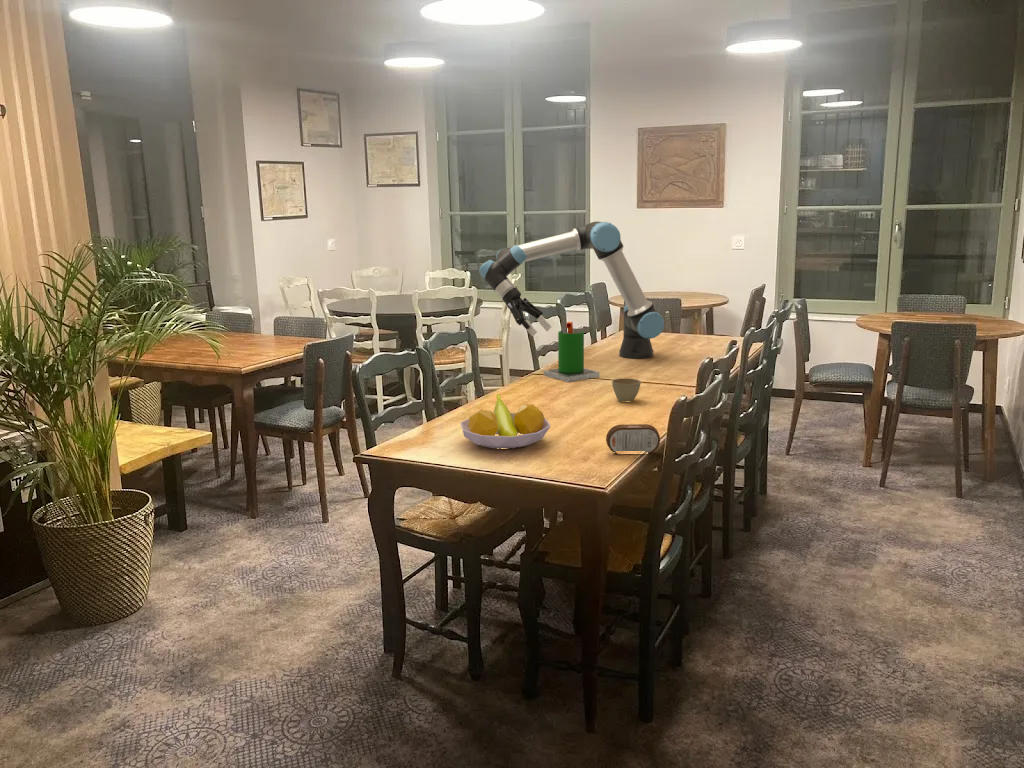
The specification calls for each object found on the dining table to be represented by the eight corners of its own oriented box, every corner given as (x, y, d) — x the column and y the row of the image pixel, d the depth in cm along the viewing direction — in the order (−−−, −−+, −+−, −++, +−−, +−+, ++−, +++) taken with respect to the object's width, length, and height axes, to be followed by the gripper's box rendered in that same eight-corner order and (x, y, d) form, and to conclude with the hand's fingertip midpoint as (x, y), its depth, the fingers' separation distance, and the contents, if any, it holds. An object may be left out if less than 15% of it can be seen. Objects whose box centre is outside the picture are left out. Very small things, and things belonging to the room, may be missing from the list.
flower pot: (629, 405, 288) (630, 385, 286) (606, 401, 295) (606, 381, 293) (646, 400, 295) (646, 380, 293) (622, 396, 302) (622, 376, 300)
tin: (658, 451, 237) (659, 422, 235) (660, 455, 234) (661, 425, 232) (605, 453, 237) (605, 424, 235) (607, 456, 234) (607, 427, 232)
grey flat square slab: (575, 370, 346) (575, 365, 346) (599, 376, 333) (599, 371, 333) (543, 375, 338) (543, 370, 337) (567, 382, 325) (567, 376, 324)
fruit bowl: (544, 458, 233) (544, 418, 230) (450, 454, 238) (448, 416, 235) (557, 430, 260) (556, 395, 257) (471, 427, 264) (470, 392, 262)
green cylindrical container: (584, 368, 339) (584, 319, 334) (583, 373, 330) (583, 323, 326) (558, 368, 340) (558, 319, 335) (557, 373, 331) (557, 323, 327)
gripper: (516, 295, 353) (549, 333, 350) (488, 302, 332) (522, 342, 328) (527, 283, 350) (560, 321, 346) (499, 290, 328) (534, 330, 325)
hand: (542, 331), depth 337 cm, fingers open, 13 cm apart
